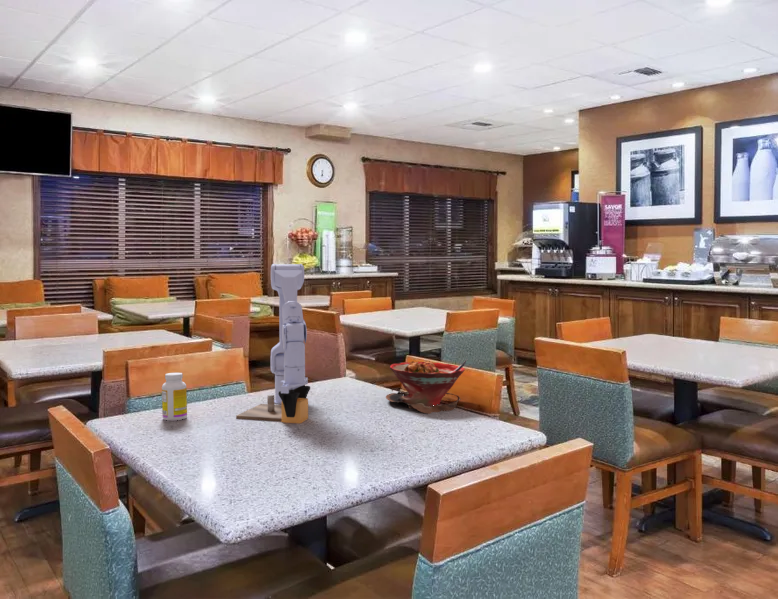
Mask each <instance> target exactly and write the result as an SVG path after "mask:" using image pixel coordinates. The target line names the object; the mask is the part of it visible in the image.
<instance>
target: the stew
mask: <svg viewBox="0 0 778 599" xmlns="http://www.w3.org/2000/svg"><path fill="white" fill-rule="evenodd" d="M467 361H468V359H465V360H464V362H463V363H461V364H460V365H455V364H449V363H443V362H442V363H441V362H433V361H430V360H429V361H427V360H426V361H414V360H413V361H410V362H406V361H405V362H399V363H392V364H390V365H389V369H390V370H391V371H392V372H393V374H394V375H395V377H396V378H397V379H398V381H399V382H400V383H401V384H402V386H403V388H404V389H405V390H406V391H405V392H404V391H400V387H396V388H391V393H387V394H386V396H385V398H386V400H387V401H389V402H394V403H404V404H406V405H408V409H412V410H417V411H419V412H420V413H424V414H429V415H430V414H432V413H442V412H450V411H453V410H455V409H457V408H458V407H457V406H458V402H460V400H461V398H460V396H459V395H457V394H453V393H450V392H449V391H450V390H451V389H452V387H453V386H454V385H455V383H456V382H457V381H458V379H459V378H460V377H461V376H462V374H463V373H464V372H465V370H466V369H465V364H466V363H467ZM397 389H398V392H393V391H395V390H397ZM446 395H454V396H456V397H457V398H456V401H452V402H449V403H448V404H441V401H442V399H443V398H444V397H445V396H446ZM447 400H448V401H450V399H449V398H448V399H447ZM437 404H438V405H437ZM433 405H434V406H433ZM429 406H431V407H429Z"/></svg>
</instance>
